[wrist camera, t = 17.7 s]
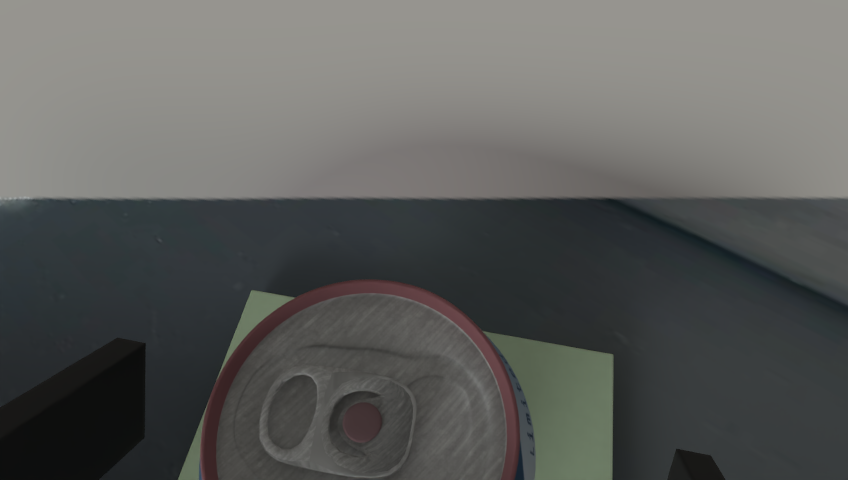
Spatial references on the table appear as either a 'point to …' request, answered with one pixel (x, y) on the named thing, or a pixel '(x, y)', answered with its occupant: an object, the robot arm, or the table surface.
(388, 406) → the soda can
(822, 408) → the table surface
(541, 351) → the mat
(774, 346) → the table surface
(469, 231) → the table surface
